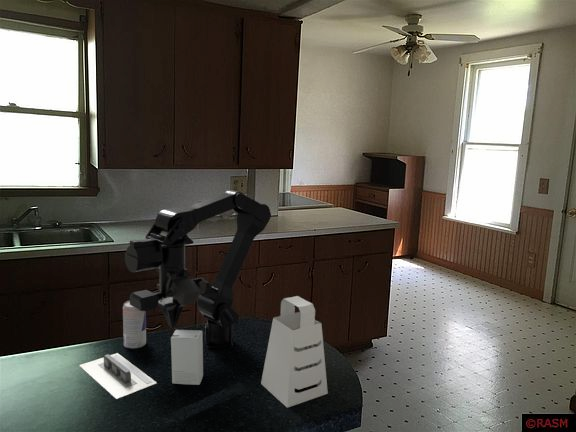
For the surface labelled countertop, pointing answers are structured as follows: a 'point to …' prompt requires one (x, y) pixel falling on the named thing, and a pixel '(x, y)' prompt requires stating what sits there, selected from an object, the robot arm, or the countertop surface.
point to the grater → (295, 354)
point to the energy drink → (133, 326)
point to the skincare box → (187, 357)
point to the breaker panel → (117, 377)
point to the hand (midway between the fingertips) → (172, 327)
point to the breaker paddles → (117, 368)
